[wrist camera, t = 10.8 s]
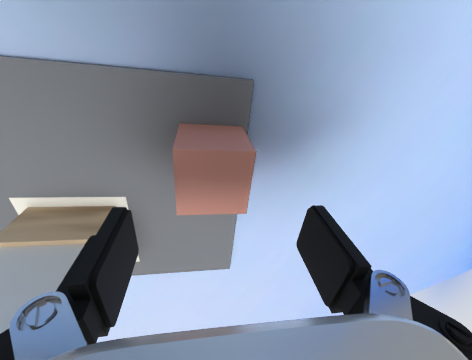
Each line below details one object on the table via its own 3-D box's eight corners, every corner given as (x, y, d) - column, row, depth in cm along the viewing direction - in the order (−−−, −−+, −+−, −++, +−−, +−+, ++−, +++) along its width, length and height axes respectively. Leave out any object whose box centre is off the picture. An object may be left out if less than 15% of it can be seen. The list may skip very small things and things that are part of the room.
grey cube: (-1, 247, 15) (-103, 347, 10) (91, 243, 16) (42, 332, 11) (32, 294, 18) (-33, 389, 13) (108, 289, 19) (75, 374, 14)
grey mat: (-171, 39, 11) (-183, 39, 11) (253, 79, 16) (254, 80, 15) (12, 280, 23) (9, 284, 22) (229, 265, 27) (229, 268, 27)
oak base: (27, 207, 18) (-12, 243, 15) (115, 205, 19) (98, 238, 16) (55, 260, 22) (29, 298, 18) (128, 256, 23) (116, 291, 19)
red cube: (179, 123, 16) (172, 149, 12) (242, 126, 17) (256, 151, 13) (181, 178, 19) (176, 215, 15) (236, 178, 20) (246, 213, 15)
